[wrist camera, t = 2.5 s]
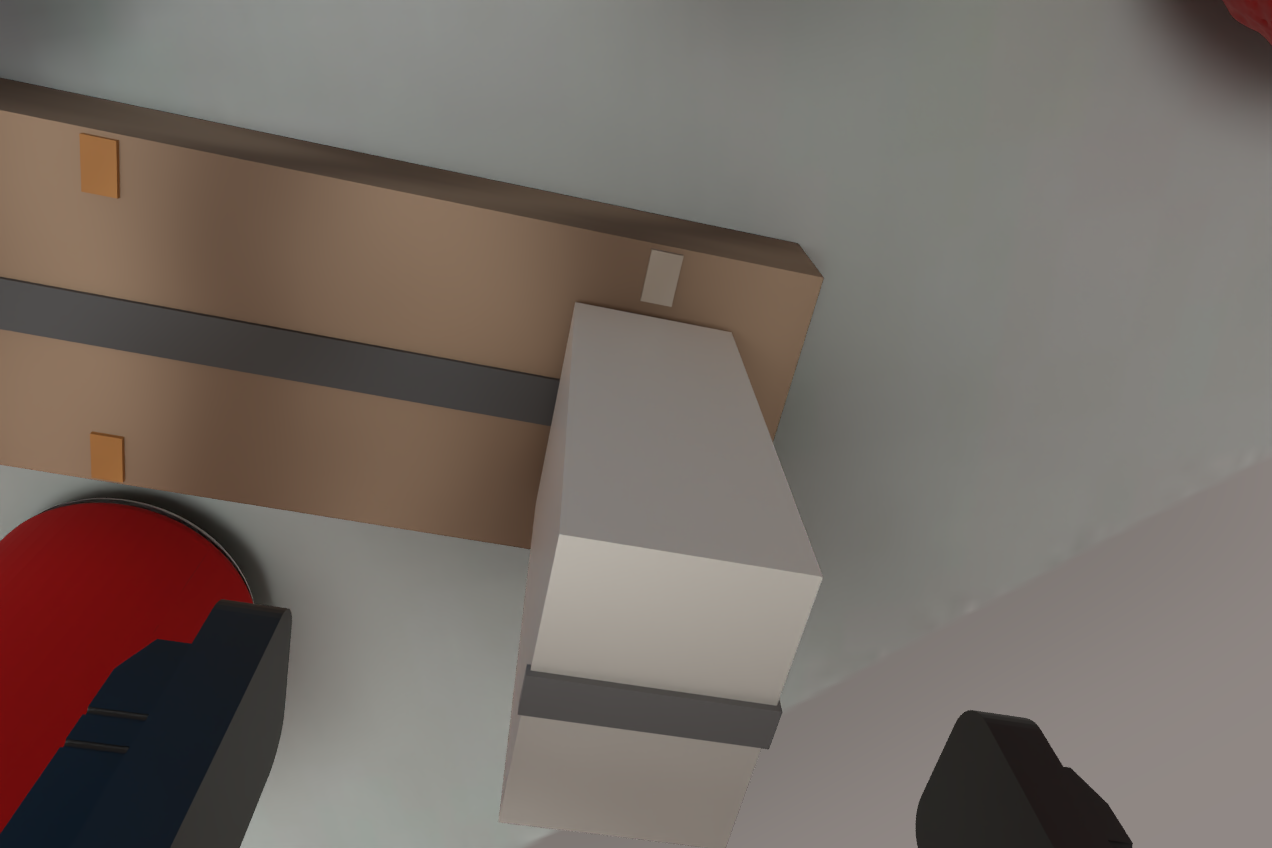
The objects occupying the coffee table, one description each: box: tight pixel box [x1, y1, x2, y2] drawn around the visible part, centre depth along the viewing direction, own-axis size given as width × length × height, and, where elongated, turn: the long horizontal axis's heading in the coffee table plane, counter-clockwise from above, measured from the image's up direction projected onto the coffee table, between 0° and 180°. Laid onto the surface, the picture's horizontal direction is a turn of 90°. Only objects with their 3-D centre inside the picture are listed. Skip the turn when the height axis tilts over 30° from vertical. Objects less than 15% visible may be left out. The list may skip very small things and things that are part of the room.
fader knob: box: [499, 302, 823, 848], centre depth 15 cm, size 3×4×8 cm
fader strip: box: [0, 78, 824, 549], centre depth 19 cm, size 20×7×3 cm, turn 78°
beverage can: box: [0, 498, 254, 833], centre depth 18 cm, size 6×6×12 cm
